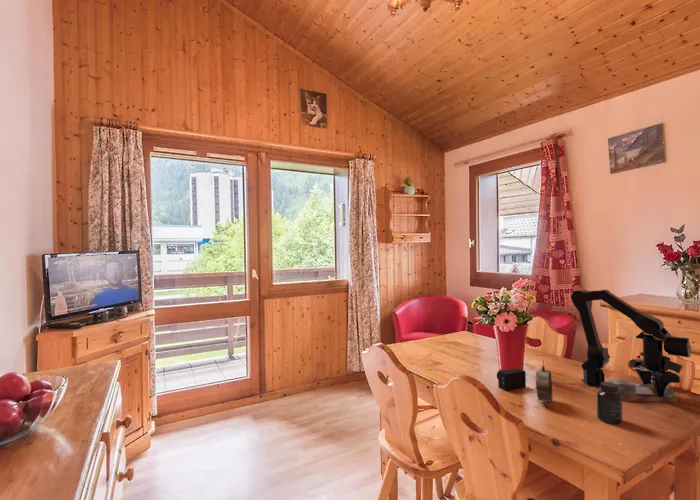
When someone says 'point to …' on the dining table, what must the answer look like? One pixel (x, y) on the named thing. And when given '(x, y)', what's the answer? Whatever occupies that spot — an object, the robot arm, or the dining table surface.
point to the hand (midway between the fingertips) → (653, 393)
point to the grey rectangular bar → (646, 389)
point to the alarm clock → (544, 385)
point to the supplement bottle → (609, 403)
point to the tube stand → (629, 393)
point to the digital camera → (511, 379)
